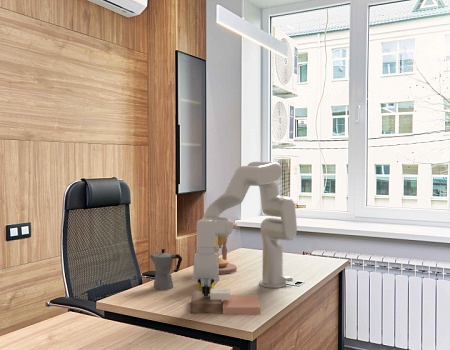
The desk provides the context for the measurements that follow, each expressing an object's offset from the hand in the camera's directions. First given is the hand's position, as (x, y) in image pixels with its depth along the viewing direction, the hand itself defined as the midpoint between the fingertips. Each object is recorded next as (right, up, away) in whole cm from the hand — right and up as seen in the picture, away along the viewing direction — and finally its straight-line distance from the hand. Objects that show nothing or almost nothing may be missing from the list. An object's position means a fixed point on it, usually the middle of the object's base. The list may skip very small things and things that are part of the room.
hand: (206, 295), depth 187 cm
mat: (+14, -5, 0) cm, 15 cm away
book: (0, -4, +33) cm, 33 cm away
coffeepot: (-20, -4, +28) cm, 35 cm away
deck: (0, -5, 0) cm, 5 cm away
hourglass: (+5, -3, +61) cm, 61 cm away
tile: (+6, -1, 0) cm, 6 cm away
